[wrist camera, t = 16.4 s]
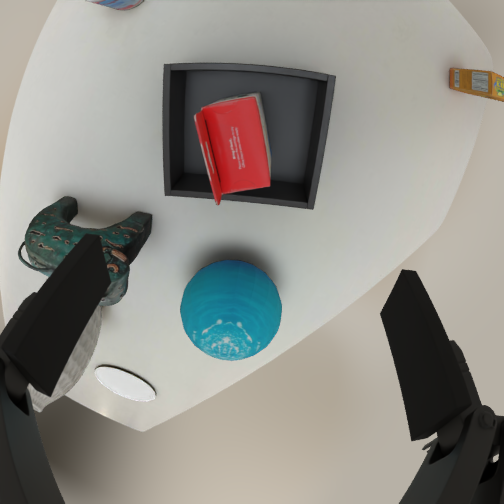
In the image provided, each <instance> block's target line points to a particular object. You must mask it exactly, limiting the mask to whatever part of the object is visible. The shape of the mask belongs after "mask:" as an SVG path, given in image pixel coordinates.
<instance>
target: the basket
mask: <svg viewBox="0 0 504 504" xmlns="http://www.w3.org/2000/svg"><path fill="white" fill-rule="evenodd" d="M335 79H336V76H334V75H328V74H323V73H318V72H312V71H306V70H299V69H292V68H284V67H275V66H265V65H253V64H236V63H177V64H164V73H163V168H164V190H165V196H180V197H194V198H207V199H214V195H213V191H212V188H211V184H210V180H209V176H208V172H207V169H206V165H205V161H204V157H203V153H202V149H201V145H200V141H199V137H198V133H197V129H196V125H195V120H194V115H195V114H196V113H199V112H200V111H201V108H202V107H204V106H207V105H209V104H212V103H214V102H216V101H219V100H221V99H224V98H228V97H233V96H238V95H243V94H249V93H254V92H260V94H261V99H262V104H263V109H264V114H265V120H266V125H267V131H268V136H269V141H270V147H271V152H272V154H271V175H270V186H269V187H263V188H257V189H250V190H244V191H239V192H233V193H227V194H223V195H222V196H221V200H230V201H241V202H251V203H261V204H270V205H279V206H288V207H296V208H304V209H312V210H313V209H314V204H315V199H316V194H317V189H318V183H319V178H320V173H321V167H322V162H323V156H324V150H325V145H326V139H327V133H328V126H329V120H330V114H331V107H332V100H333V94H334V86H335ZM208 159H209V157H208ZM209 162H210V161H209Z"/></svg>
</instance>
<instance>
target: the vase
mask: <svg viewBox="0 0 504 504" xmlns="http://www.w3.org/2000/svg"><path fill="white" fill-rule="evenodd" d="M101 318H102V312H101V306H99V305H98V306H97V308H96V309H95V311H94V313H93V315H92V316H91V318H90V320H89V322H88V324H87V325H86V327H85V329H84V331H83V333H82V335H81V336H80V338H79V340H78V342H77V344H76V346H75V348H74V350H73V352H72V354H71V356H70V358H69V360H68V362H67V364H66V366H65V368H64V370H63V372H62V374H61V376H60V378H59V380H58V383H57V385H56V387H55V389H54V391H53V394H52V396H51V398H50V397H48V396H46V395H44V394H42V393H40V392H38V391H36V390H35V389H34V388H33V386H32V385H31V384H30V383H29V385H28V387H27V388H28V389H29V392H30V395H31V400H32V405H33V409H34V410H36V411H38V412H41V411H42V410H43V408H44V407H45V406H46V405H48V404H50V403H51V402H53V401H55V400H57V399H58V398H60V397H62V396H63V395H65V394H66V393H67V392H68V391H69V390H70V389H71V388H72V387H73V386H74V385H75V384H76V383H77V382H78V380H79V379H80V377H81V376H82V375H83V373H84V371H85V369H86V367H87V366H88V364H89V361H90V359H91V357H92V355H93V352H94V350H95V347H96V345H97V341H98V338H99V334H100V328H101Z"/></svg>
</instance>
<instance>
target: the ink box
mask: <svg viewBox="0 0 504 504" xmlns="http://www.w3.org/2000/svg"><path fill="white" fill-rule="evenodd" d="M194 120H195V125H196V129H197V133H198V137H199V141H200V145H201V149H202V153H203V157H204V161H205V165H206V169H207V172H208V176H209V180H210V184H211V188H212V191H213V195H214V199H215V202H216V205H219V204H220V201H221V196H222V195H223V194H227V193H233V192H239V191H244V190H250V189H257V188H263V187H269V186H270V175H271V154H272V152H271V147H270V141H269V136H268V131H267V125H266V120H265V114H264V109H263V104H262V99H261V94H260V92H254V93H249V94H243V95H238V96H233V97H228V98H224V99H221V100H219V101H216V102H214V103H212V104H209V105H207V106H204V107H202V108H201V111H200V112H199V113H196V114H195V115H194ZM208 157H209V159H208ZM209 161H210V162H209Z"/></svg>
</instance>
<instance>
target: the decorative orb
mask: <svg viewBox="0 0 504 504" xmlns="http://www.w3.org/2000/svg"><path fill="white" fill-rule="evenodd" d="M180 313H181V318H182V322H183V327H184V330H185V332H186V334H187V335H188V337H189V338H190V340H191V341H192V342H193V344H194V345H195V346H196V347H198V348H199V349H200V350H201V351H203V352H204V353H205V354H208V355H210V356H212V357H214V358H218V359H222V360H231V361H233V360H242V359H245V358H248V357H251V356H254V355H255V354H257V353H258V352H260V351H261V350H263V349H264V348H266V347H267V346H268V344H269V343H270V342H271V340H272V339H273V338H274V336H275V334H276V333H277V331H278V329H279V326H280V320H281V313H282V304H281V300H280V297H279V294H278V291H277V288H276V286H275V284H274V283H273V282H272V280H271V279H270V278H269V277H268V276H267V274H266V273H265V272H263V271H262V270H260V269H259V268H257V267H256V266H254V265H252V264H249V263H246V262H243V261H239V260H224V261H219V262H215V263H212V264H210V265H208V266H206V267H205V268H203V269H201V270H200V271H198V272H197V273H196V275H195V276H194V277H193V278H192V279H191V281H190V282H189V283H188V284H187V286H186V288H185V290H184V294H183V298H182V302H181V306H180Z"/></svg>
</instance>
